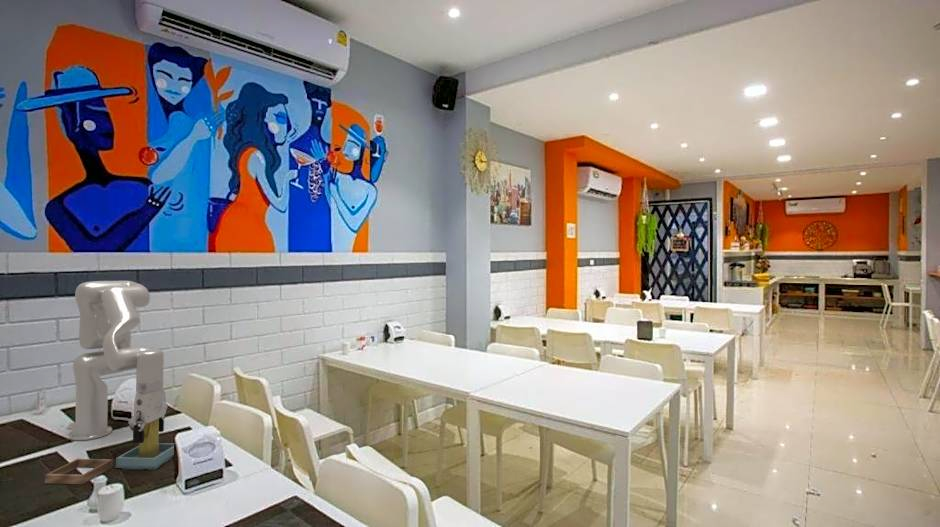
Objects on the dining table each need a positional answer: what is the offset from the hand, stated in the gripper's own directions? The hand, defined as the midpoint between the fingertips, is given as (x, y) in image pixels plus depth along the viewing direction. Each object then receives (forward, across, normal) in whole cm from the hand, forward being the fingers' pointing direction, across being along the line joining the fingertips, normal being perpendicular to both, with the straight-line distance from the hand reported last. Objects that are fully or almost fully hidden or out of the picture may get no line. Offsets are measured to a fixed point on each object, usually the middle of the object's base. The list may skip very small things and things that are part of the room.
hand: (148, 436), depth 157 cm
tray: (+8, 0, 0) cm, 8 cm away
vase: (+7, 0, 0) cm, 7 cm away
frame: (+8, -11, +14) cm, 19 cm away
